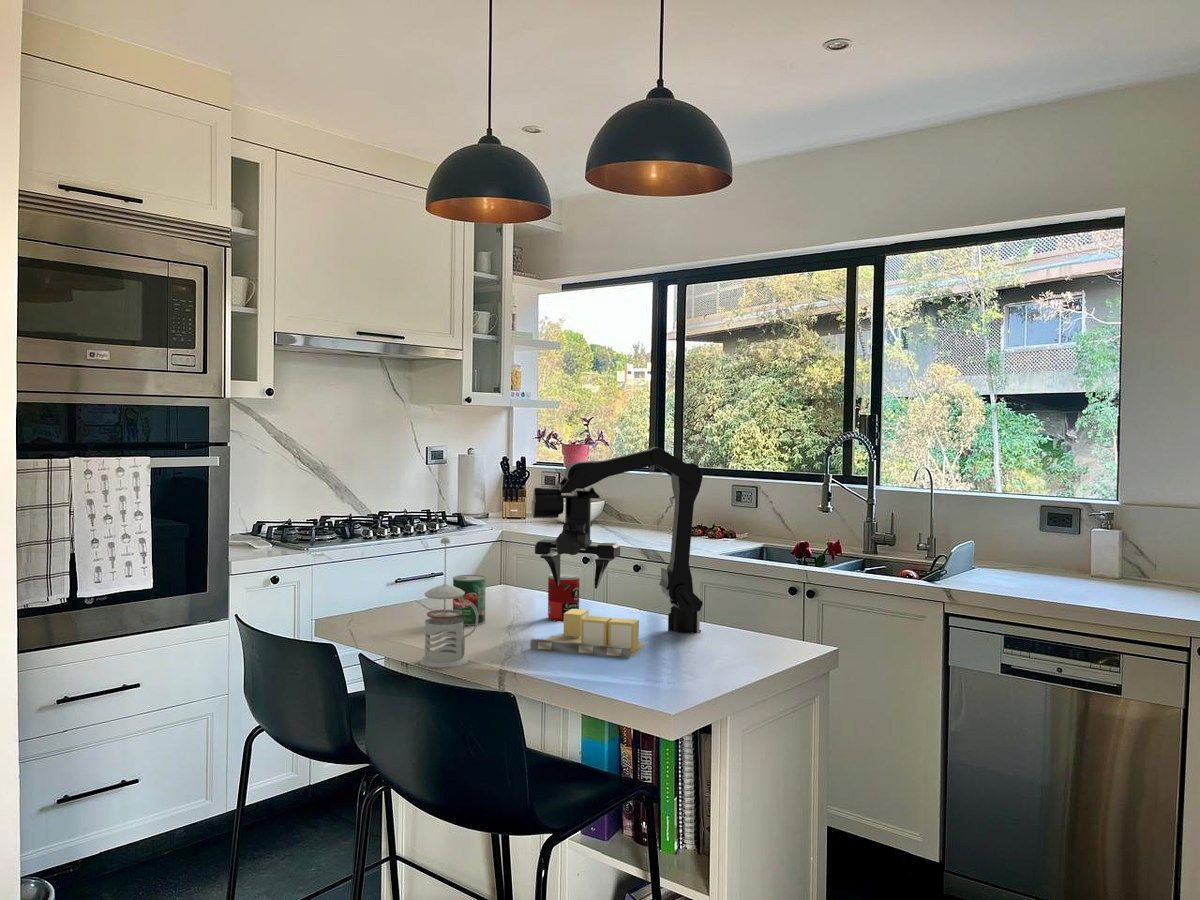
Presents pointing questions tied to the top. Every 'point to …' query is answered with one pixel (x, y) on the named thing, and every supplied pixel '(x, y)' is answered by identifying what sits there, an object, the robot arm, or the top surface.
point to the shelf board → (581, 647)
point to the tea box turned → (574, 622)
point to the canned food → (563, 595)
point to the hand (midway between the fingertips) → (576, 587)
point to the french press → (446, 628)
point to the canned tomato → (470, 598)
